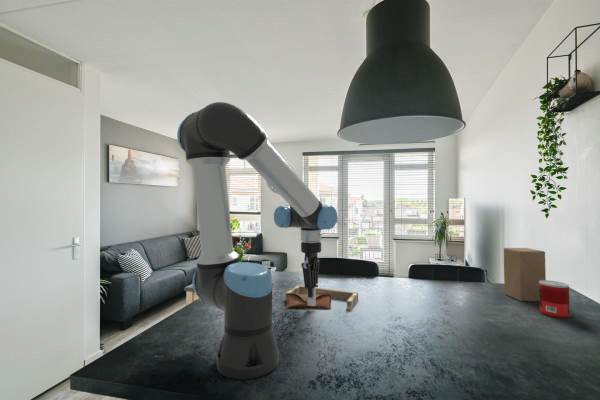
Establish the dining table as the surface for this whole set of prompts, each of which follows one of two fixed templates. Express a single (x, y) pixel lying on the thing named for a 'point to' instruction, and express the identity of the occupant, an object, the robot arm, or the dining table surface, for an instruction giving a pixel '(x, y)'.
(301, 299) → the sunglasses case
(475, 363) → the dining table surface
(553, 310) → the canned food
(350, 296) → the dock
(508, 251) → the wooden block
